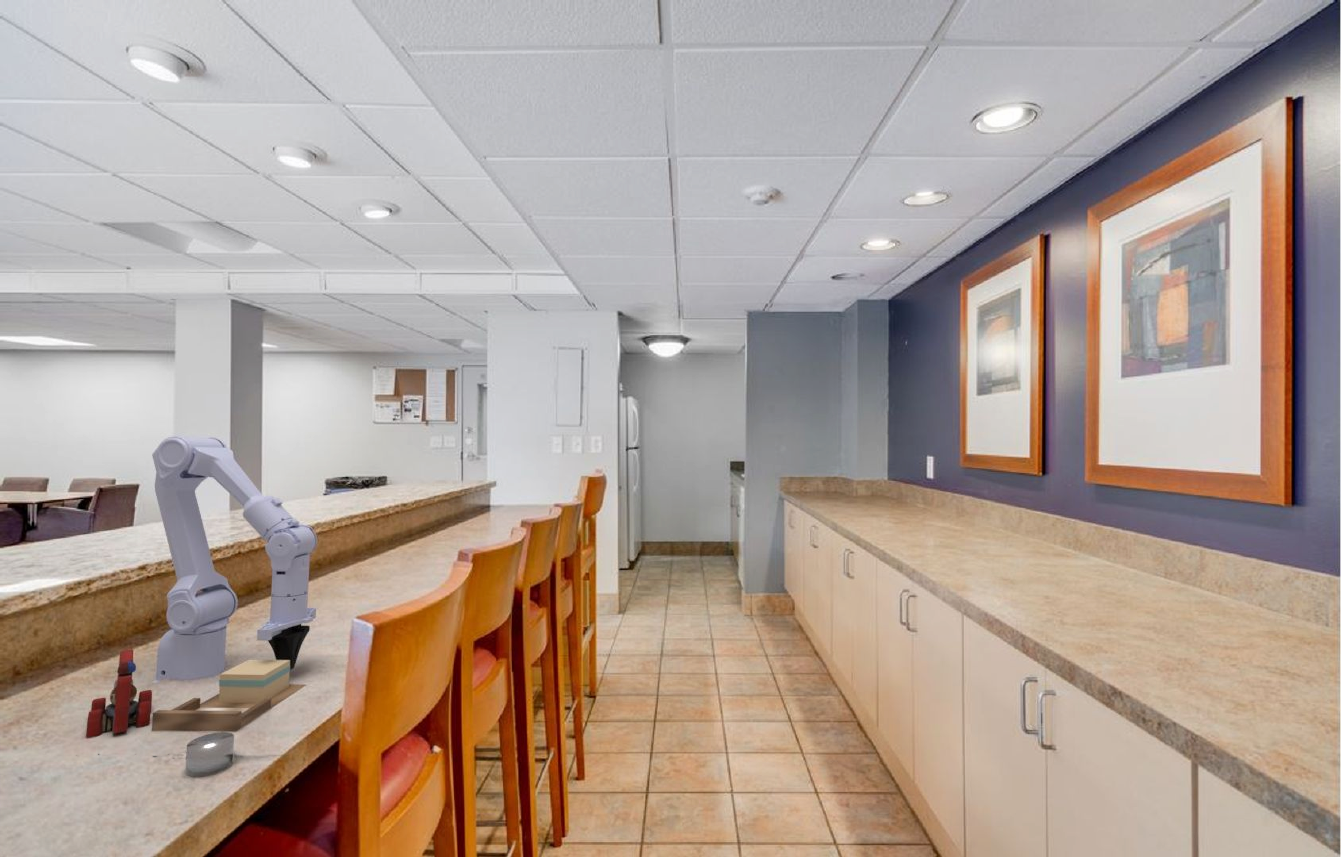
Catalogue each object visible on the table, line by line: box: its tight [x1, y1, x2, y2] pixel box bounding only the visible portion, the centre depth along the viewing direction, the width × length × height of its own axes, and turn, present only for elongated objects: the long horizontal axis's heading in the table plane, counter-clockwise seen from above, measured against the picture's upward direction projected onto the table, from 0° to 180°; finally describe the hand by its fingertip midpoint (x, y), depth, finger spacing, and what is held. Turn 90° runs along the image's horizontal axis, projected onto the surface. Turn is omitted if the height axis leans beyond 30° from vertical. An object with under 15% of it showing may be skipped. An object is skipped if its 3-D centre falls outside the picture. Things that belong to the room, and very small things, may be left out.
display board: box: [151, 683, 307, 733], centre depth 97 cm, size 12×18×4 cm, turn 2°
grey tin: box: [185, 732, 235, 778], centre depth 80 cm, size 5×5×4 cm
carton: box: [218, 659, 291, 703], centre depth 101 cm, size 7×7×4 cm
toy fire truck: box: [85, 648, 153, 739], centre depth 91 cm, size 7×12×10 cm, turn 40°
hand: (286, 669), depth 110 cm, fingers closed
